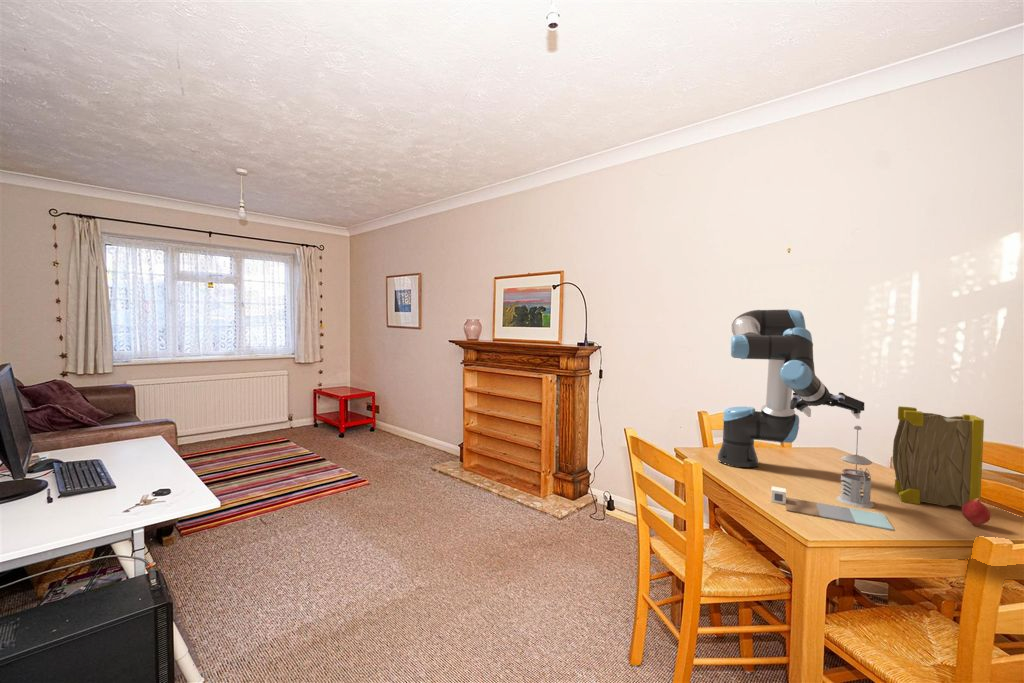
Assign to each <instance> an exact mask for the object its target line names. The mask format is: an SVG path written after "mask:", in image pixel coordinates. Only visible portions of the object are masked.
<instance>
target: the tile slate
mask: <svg viewBox="0 0 1024 683" xmlns="http://www.w3.org/2000/svg"><path fill="white" fill-rule="evenodd" d="M816 504H817V507H818V511H819V514H820V517H819V518H823V519H828V520H832V521H833V520H834V521H839V522H845V523H850V524H855V520H854V518H853V516H852V514H851V511H850V509H849V508H850V507H845V506H839V505H835V504H834V505H833V504H828V503H822V502H817V501H816Z"/></svg>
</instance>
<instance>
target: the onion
mask: <svg viewBox="0 0 1024 683" xmlns="http://www.w3.org/2000/svg"><path fill="white" fill-rule="evenodd" d="M961 514H962V516H963V518H965V520H966V521H968V522H969V523H970V524H972V525H973V526H975V527H980V526H981V525H983V524H986V523H988V522H989V521H990V520H991V517H992V516H991V511H990V510H989V508H988V507H987V506H986V505H985V504H983V502H981V499H980V500H979V499H978V498H976V499H974V500H972V501H969V502H967V503H965V504H964V505H963V506H962V507H961Z"/></svg>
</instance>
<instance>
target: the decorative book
mask: <svg viewBox="0 0 1024 683" xmlns="http://www.w3.org/2000/svg"><path fill="white" fill-rule="evenodd" d="M897 420H899V421H898V425H897V428H896V432H895V435H894V439H893V444H892V446H893V447H892V464H893V470H894V474H895V479H894V493H896V494H897V495H899V499H900V501H901V503H906V504H907V503H908V504H913V505H921V502H923V503H930V504H934V505H938V506H942V507H947V506H950V505H951V506H952V505H954V506H957V507H958V506H959V507H960V508H962V506H963V505H964V504H965V503H967V502H969V501H972V500H974V499H976V498H978V499H979V500H980V501H981V494H982V477H983V476H982V474H983V473H982V472H983V469H982V468H983V454H984V453H983V451H984V432H985V431H984V428H985V420H984V419H983V418H981V417H979V416H976V415H972V414H965V413H964V414H962V415H958V416H957V415H956V416H944V415H941V414H937V413H931V412H923V411H920V410H919V411H918V409H917V408H916V407H913V406H912V407H910V406H898V408H897Z"/></svg>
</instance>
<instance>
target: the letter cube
mask: <svg viewBox="0 0 1024 683" xmlns="http://www.w3.org/2000/svg"><path fill="white" fill-rule="evenodd" d="M770 492H771V493H770V499H771V500H770V502H771V503H775V504H781V505H785V506H786V497H787V489H786V488H784V487H778V486H773V485H771V490H770Z"/></svg>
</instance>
